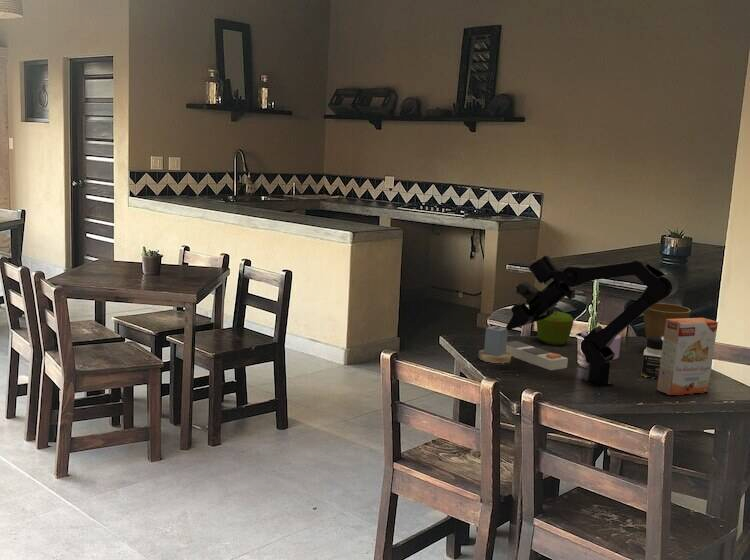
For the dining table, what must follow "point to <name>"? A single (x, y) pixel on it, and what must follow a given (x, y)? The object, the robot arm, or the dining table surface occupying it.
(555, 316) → the apple
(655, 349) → the medicine bottle
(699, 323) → the cracker box
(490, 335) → the grey cylinder
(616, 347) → the clip
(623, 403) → the dining table surface
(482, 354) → the trivet
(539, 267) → the robot arm
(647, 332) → the plant pot
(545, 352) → the power strip
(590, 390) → the dining table surface
